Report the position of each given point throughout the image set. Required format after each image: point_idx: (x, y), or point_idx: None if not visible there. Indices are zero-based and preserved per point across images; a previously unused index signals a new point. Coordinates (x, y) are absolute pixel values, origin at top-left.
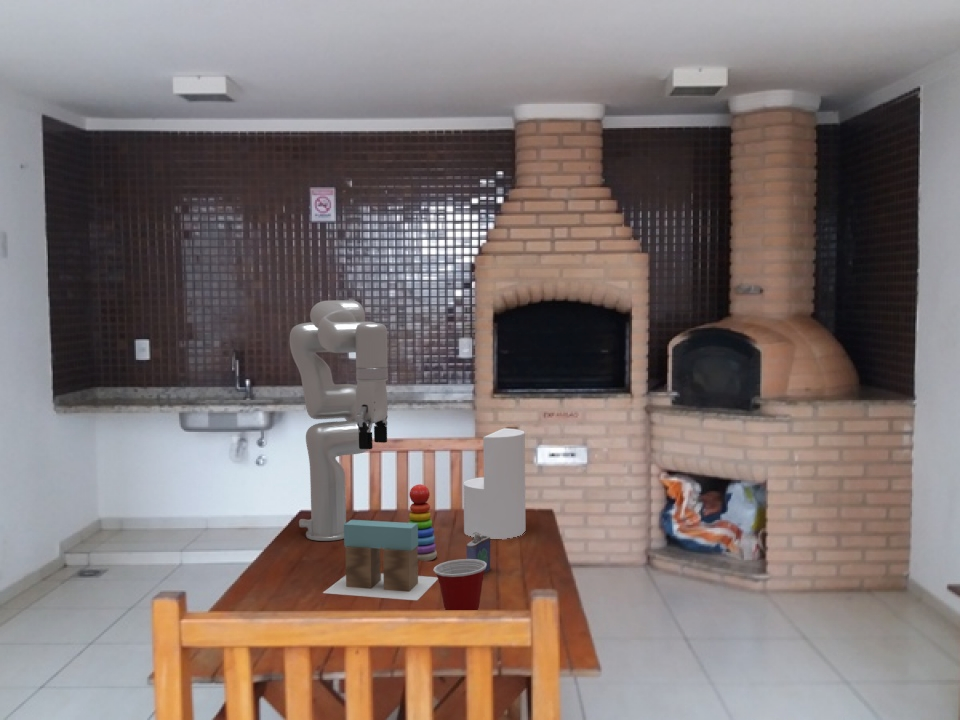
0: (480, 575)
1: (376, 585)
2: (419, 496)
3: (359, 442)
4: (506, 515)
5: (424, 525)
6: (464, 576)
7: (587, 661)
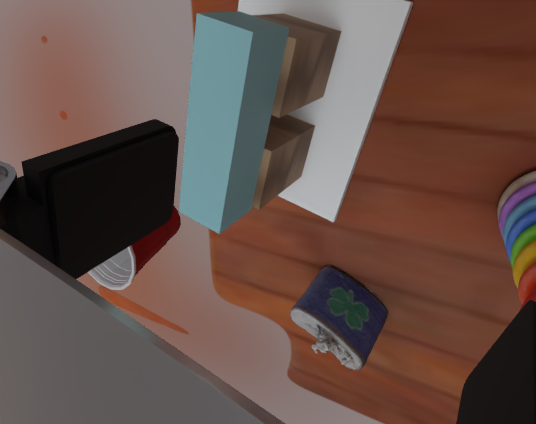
0: (102, 269)
1: None
2: None
3: (117, 136)
4: None
5: (511, 265)
6: None
7: (105, 299)
